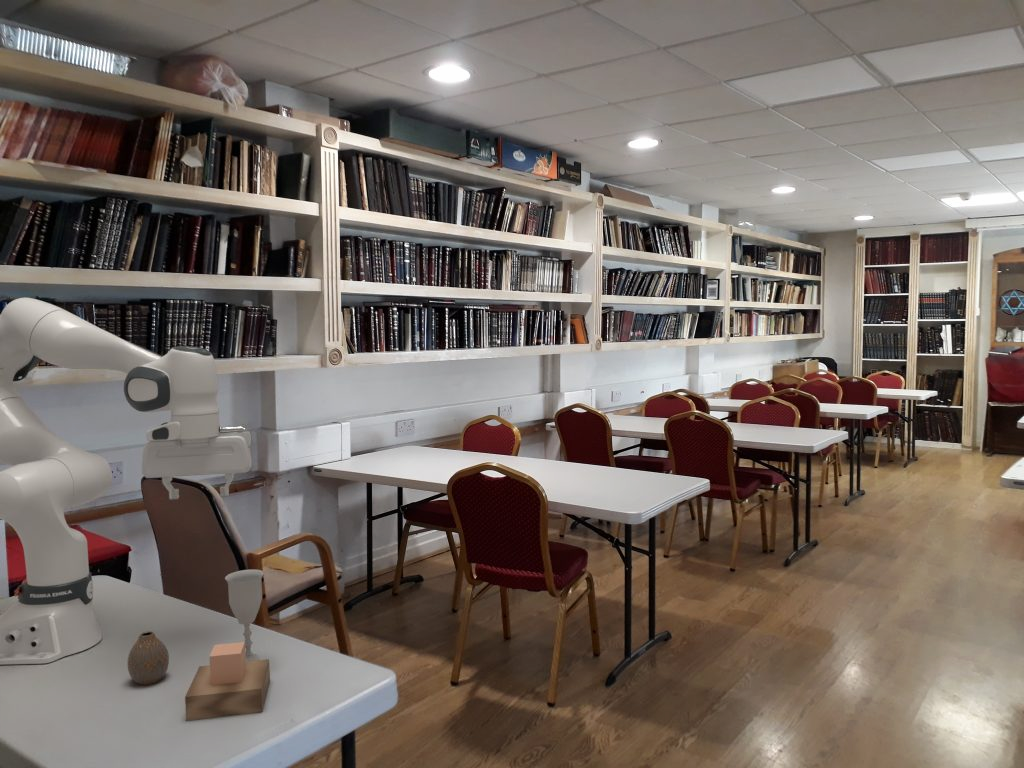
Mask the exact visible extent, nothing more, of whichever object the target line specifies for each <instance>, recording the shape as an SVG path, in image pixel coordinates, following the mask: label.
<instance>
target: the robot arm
mask: <svg viewBox="0 0 1024 768" xmlns="http://www.w3.org/2000/svg"><path fill="white" fill-rule="evenodd" d="M41 360H42V361H44V362H46V363H48V364H51V365H53V366H56V367H61V368H64V369H67V370H68V369H69V370H110V371H111V370H112V371H117V372H122V373H125V374H127V375H126V376H125V379H124V382H123V394H124V396H125V400H126V401H127V403H128V404H129V405H130V407H131V408H133V409H135V411H138V412H142V413H156V412H157V413H158V412H167V411H170V421H169V422H163V423H162V424H160V425H157V426H154V427H151V428H149V429H148V430H147V431H146V432H145V437H146V438H145V439H146V440H147V441H148V442H147V443H145V444H144V446H143V448H142V454H141V474H142V476H143V477H144V478H146V479H158V478H161V482H162V483H161V484H162V485H163V487H165V489H166V490H167V491H168V495H169V496H168V498H169V500H179V498H180V494H179V493H180V491H179V490H180V489H179V488H174V487H173V485H172V482H171V481H173V477H191V476H207V475H208V476H209V475H224V479H225V480H227V481H226V482H225V484H224V485H222V486H220V487H219V492H220V493H219V496H220V497H228V496H229V494H230V490H229V489H230V485H231V483H232V481H233V480H234V478H235V474H240V473H247V472H249V471H250V470H251V468H252V467H253V462H252V453H251V450H250V447H251V445H252V441H253V440H252V438H253V437H252V433H251V431H250V430H249V429H247V428H245V427H244V426H240V425H238V426H220V424H221V422H220V410H219V405H218V403H217V402H218V401H217V397H218V392H219V390H218V389H219V386H218V374H217V372H218V371H217V366H216V362H215V358H214V356H213V354H212V352H211V351H209V350H207V349H205V348H203V347H197V346H189V345H179V346H177V345H176V346H175V347H172V348H170V350H169V351H168V352H167V353H166V354H164V355H161V354H158V353H156V352H154V351H152V350H150V349H147V348H144V347H143V346H141V345H137V344H136V343H133V342H131V341H128V340H126V339H123V338H121V337H119V336H117V335H116V334H113V333H111V332H109V331H107V330H104V329H102V328H100V327H98V326H96V325H95V324H93V323H91V322H89V321H87V320H85V319H83V318H81V317H79V316H77V315H75V314H73V313H71V312H69V311H68V310H66V309H64V308H62V307H59V306H58V305H56V304H55V305H54V304H52V303H50V302H46V301H43V300H40V299H36V298H32V297H19V298H16V299H13V300H12V301H10V302H9V303H7V304H6V306H4V308H2V311H1V313H0V463H3V464H6V465H9V466H10V467H7V468H5V469H3V470H1V471H0V520H2V521H4V522H6V523H8V524H9V526H11V527H12V528H13V530H14V531H15V532H16V534H17V536H18V538H19V540H20V543H21V544H22V548H23V555H24V563H25V564H24V565H25V571H26V572H25V573H26V578H25V579H24V580H22V582H21V584H20V585H18V586H17V588H16V589H15V590H14V591H13V593H14V595H13V596H14V597H17V599H18V601H16V602H15V603H14V604H12V606H11V607H9V608H8V609H7V610H6V611H4V612H3V613H2V614H1V615H0V665H1V666H2V665H29V664H30V665H33V664H35V665H36V664H37V665H38V664H49V663H52V662H55V661H56V660H57V661H58V660H60V659H62V658H64V657H67V656H70V655H73V654H77V653H81V652H83V651H85V650H87V649H90V648H92V647H93V646H95V645H96V644H99V642H100V641H101V640H102V639H103V635H102V633H101V631H100V627H99V626H98V623H97V618H96V616H95V615H96V614H95V610H94V605H93V600H94V599H93V598H94V583H93V577H92V572H90V566H89V553H88V552H89V550H88V549H89V547H88V539H87V537H86V536H85V534H84V533H82V532H81V531H79V530H78V529H74V528H72V527H70V526H69V524H68V523H67V520H66V518H65V513H64V510H68V509H72V508H75V507H79V506H83V505H86V504H88V503H91V502H93V501H95V500H96V499H99V498H100V497H102V496H103V495H105V494H106V493H107V492H108V491H109V490H110V488H111V486H112V482H113V472H112V469H111V466H110V464H109V462H108V461H107V460H106V459H105V458H104V457H103V456H101V455H99V454H97V453H93V452H89V451H87V450H83V449H81V448H79V447H77V446H76V445H73V444H72V443H70V442H69V441H67V440H66V439H64V438H62V437H61V436H59V435H58V434H56V433H55V432H53V430H51V429H50V428H49V427H47V425H46V424H45V423H44V422H43V421H42V420H41V419H40V417H38V416H37V414H36V413H35V411H33V410H32V408H31V407H30V406H29V404H28V403H27V402H26V401H25V400H24V398H23V397H22V396H21V394H19V392H18V391H17V390H16V388H15V386H14V382H19V381H22V380H24V379H25V378H27V376H28V374H29V373H30V372H31V371H33V370H34V369H35V368H36V367H37V366H38V365H39V363H40V362H41Z"/></svg>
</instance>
